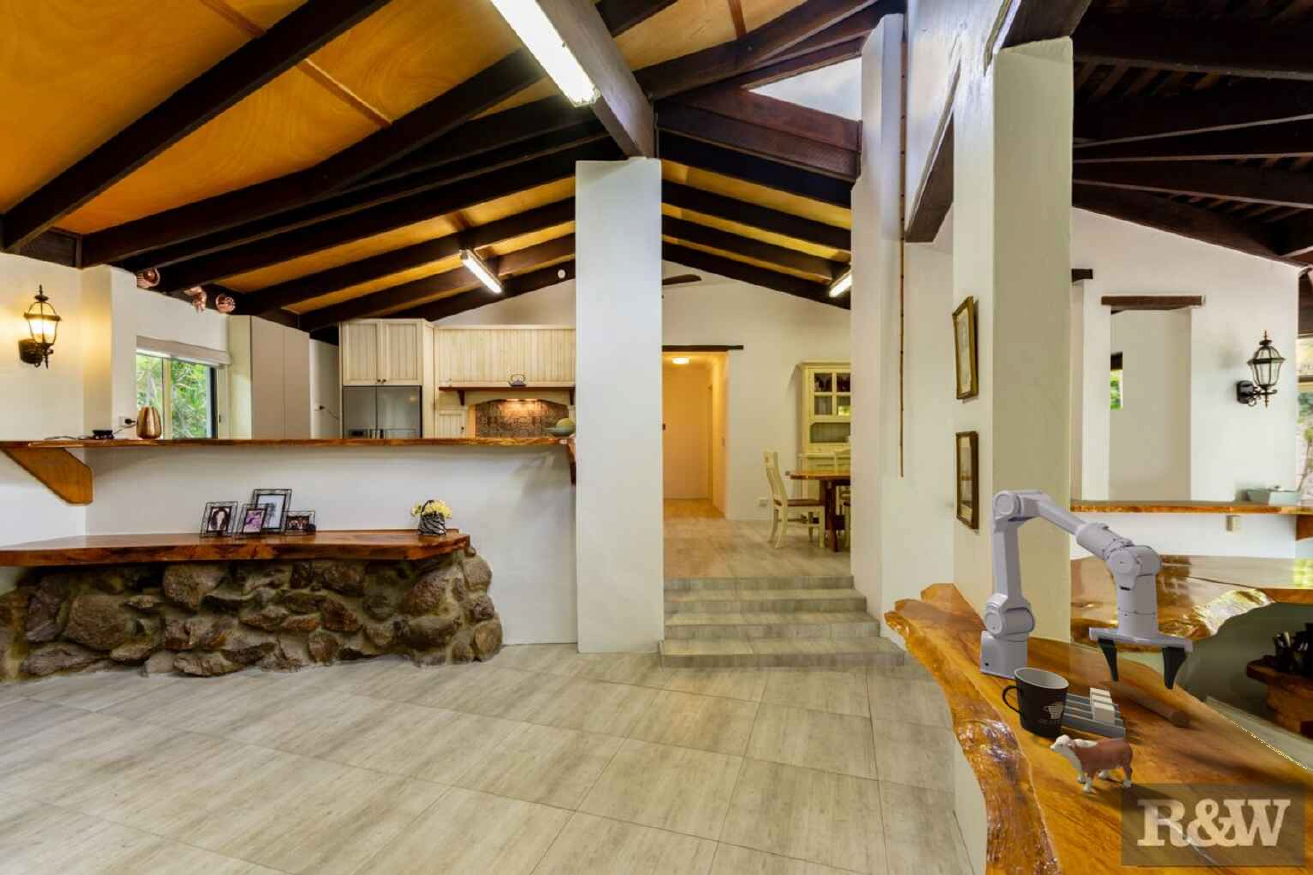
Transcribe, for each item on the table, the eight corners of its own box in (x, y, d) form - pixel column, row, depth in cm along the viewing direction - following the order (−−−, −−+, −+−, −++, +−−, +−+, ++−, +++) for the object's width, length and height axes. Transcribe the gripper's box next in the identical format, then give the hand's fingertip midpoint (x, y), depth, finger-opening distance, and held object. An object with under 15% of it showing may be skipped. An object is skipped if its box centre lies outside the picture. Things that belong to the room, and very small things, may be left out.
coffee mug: (1058, 721, 109) (1058, 671, 108) (1075, 745, 100) (1076, 691, 100) (991, 711, 112) (991, 663, 112) (1002, 733, 104) (1003, 681, 104)
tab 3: (1094, 723, 105) (1094, 706, 105) (1093, 718, 107) (1093, 701, 107) (1114, 728, 103) (1114, 711, 103) (1113, 723, 105) (1113, 706, 105)
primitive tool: (1096, 683, 126) (1097, 668, 125) (1120, 683, 125) (1121, 668, 125) (1173, 729, 106) (1174, 712, 106) (1202, 730, 106) (1203, 712, 106)
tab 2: (1092, 715, 108) (1092, 699, 108) (1091, 711, 110) (1091, 694, 110) (1112, 720, 106) (1112, 703, 106) (1110, 715, 108) (1111, 698, 108)
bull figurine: (1044, 778, 91) (1045, 730, 91) (1119, 774, 92) (1120, 726, 92) (1066, 796, 87) (1067, 745, 87) (1144, 791, 88) (1145, 741, 88)
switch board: (1058, 724, 107) (1059, 712, 107) (1056, 701, 116) (1056, 690, 116) (1125, 741, 102) (1125, 728, 102) (1117, 715, 111) (1117, 704, 111)
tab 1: (1090, 708, 111) (1091, 691, 111) (1090, 703, 113) (1090, 687, 113) (1110, 712, 109) (1110, 696, 109) (1108, 708, 111) (1109, 691, 111)
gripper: (1092, 610, 103) (1096, 683, 103) (1196, 620, 96) (1201, 699, 95) (1086, 602, 109) (1089, 671, 109) (1183, 611, 102) (1188, 685, 101)
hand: (1141, 683), depth 102 cm, fingers open, 7 cm apart
